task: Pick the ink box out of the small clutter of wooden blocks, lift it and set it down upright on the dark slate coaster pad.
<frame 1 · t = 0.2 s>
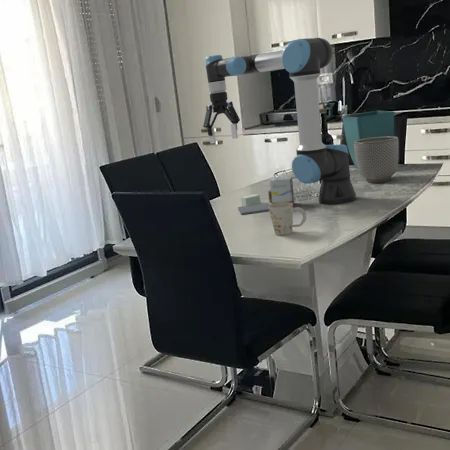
hand: (224, 140, 278), 28 cm above the table, fingers open, 13 cm apart
planter: (378, 181, 288), on the table
ink box: (283, 206, 261), on the table
sage block: (251, 205, 272), on the table
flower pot: (371, 169, 323), on the table
walnut block: (277, 201, 272), on the table
mug: (289, 232, 217), on the table
slate pad: (255, 209, 260), on the table
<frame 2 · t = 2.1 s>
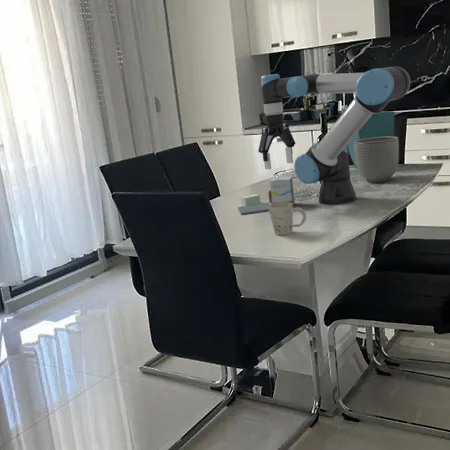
hand: (279, 166, 257), 17 cm above the table, fingers open, 13 cm apart
nothing on the table moved.
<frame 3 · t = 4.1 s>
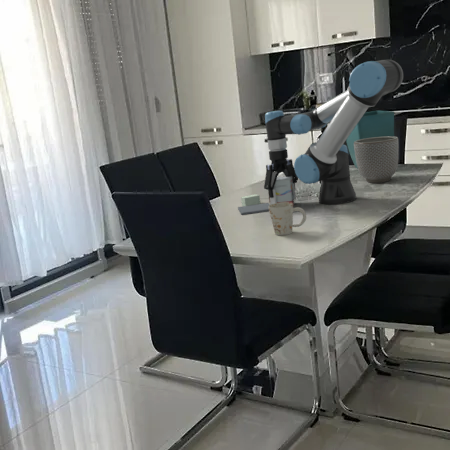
hand: (283, 201, 260), 2 cm above the table, fingers closed on ink box, 11 cm apart
ink box: (284, 206, 261), on the table, touching gripper
everything else where it was.
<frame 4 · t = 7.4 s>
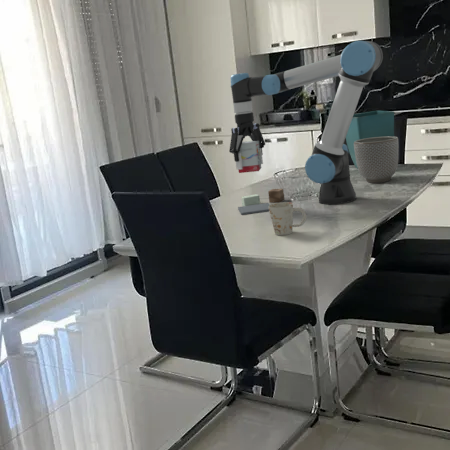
hand: (249, 166, 256), 18 cm above the table, fingers closed on ink box, 11 cm apart
ink box: (250, 171, 257), point 16 cm above the table, touching gripper
everything else where it was.
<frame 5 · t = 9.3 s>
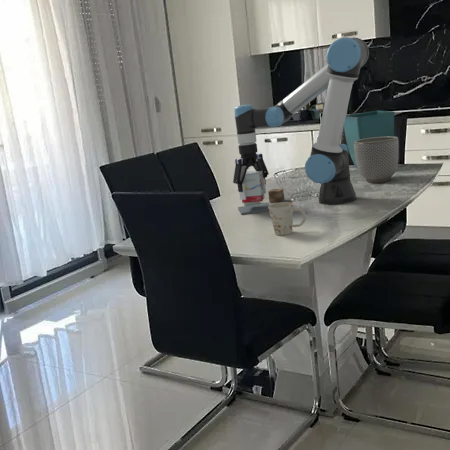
hand: (253, 196, 259), 6 cm above the table, fingers closed on ink box, 11 cm apart
ink box: (253, 200, 260), point 4 cm above the table, touching gripper
everything else where it was.
when the fingers open (4 cm above the table, at t = 10.8 s): ink box drops 2 cm, resting on slate pad.
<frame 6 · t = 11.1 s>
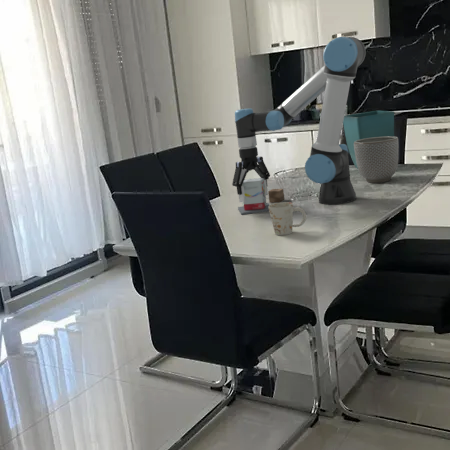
hand: (253, 198, 259), 5 cm above the table, fingers open, 13 cm apart
ink box: (255, 208, 261), point 1 cm above the table, touching slate pad
everything else where it was.
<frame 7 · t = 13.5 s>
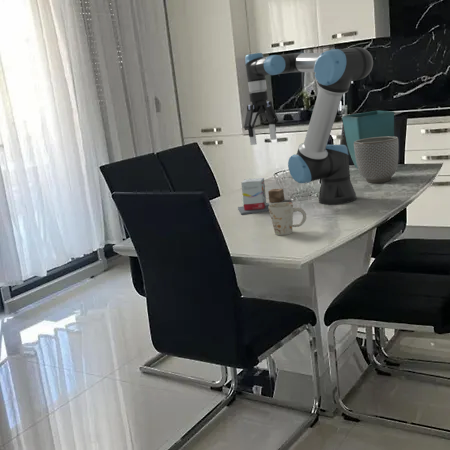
hand: (263, 142, 268), 26 cm above the table, fingers open, 13 cm apart
nothing on the table moved.
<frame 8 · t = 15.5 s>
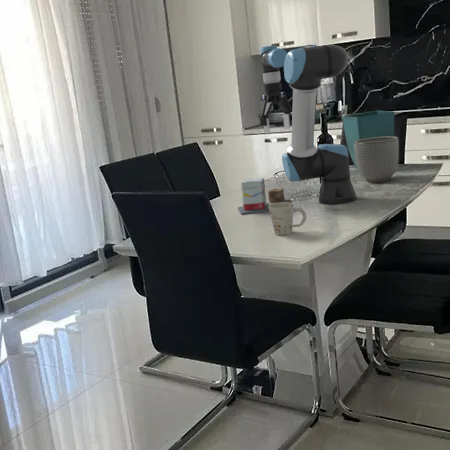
hand: (277, 131, 280), 29 cm above the table, fingers open, 13 cm apart
nothing on the table moved.
at the end: ink box inside the target area on the slate pad (0.5 cm from its centre), point 0.6 cm above the slate pad's base; ink box tilted 0°; the gripper is holding nothing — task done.
